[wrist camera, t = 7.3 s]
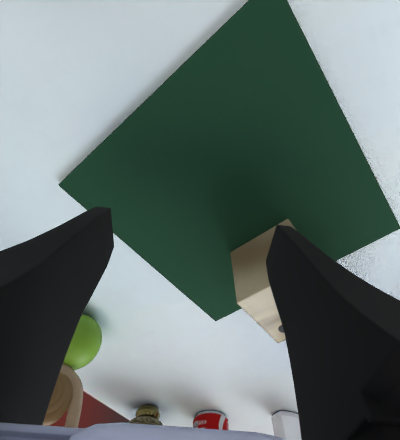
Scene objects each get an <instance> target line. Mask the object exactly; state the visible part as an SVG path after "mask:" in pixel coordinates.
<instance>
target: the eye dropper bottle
mask: <svg viewBox="0 0 400 440" xmlns="http://www.w3.org/2000/svg"><path fill="white" fill-rule="evenodd" d="M272 424H273V430H274V435H275V436H276V437H280V438H282V439H283V440H301V432H300V423H299V415H298V414H296V413H293V412H287V411H279V412H277V413H276V414H274V415H273V416H272Z"/></svg>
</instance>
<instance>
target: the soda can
mask: <svg viewBox="0 0 400 440" xmlns="http://www.w3.org/2000/svg"><path fill="white" fill-rule="evenodd" d="M193 428H203V429H217V430H228V419H227V418H226V417H225V415H224V414H223V413H221V412H218V411H211V410H210V411H203V412H200V413H198V414H197V416H196V417H195V419H194V420H193Z"/></svg>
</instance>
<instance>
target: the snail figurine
mask: <svg viewBox="0 0 400 440" xmlns="http://www.w3.org/2000/svg"><path fill="white" fill-rule="evenodd" d="M101 341H102V333H101V329H100V327H99V325H98V323H97V322H96V321H95V320H94V319H93V318H91V317H89V316H87V315H83V314H82V316H81V318H80V320H79V323H78V325H77V328H76V330H75V333H74V335H73V338H72V340H71V343H70V346H69V348H68V351H67V354H66V356H65V359H64V362H63V364H62V367H61V370H60V373H59V376H58V379H57V382H56V385H55V388H54V390H53V393H52V396H51V399H50V403H49V406H48V409H47V412H46V415H45V418H44V421H43V425H42V426H49V425H51V424H53V423H54V422H56V421H57V420H58V419H59V418H60V417H61V416H62V415H63V414H64V413H65V411H66V410H67V408H68V413H67V419H66V424H65V427H70V428H78V423H79V419H80V414H81V407H82V400H83V387H82V382H81V380H80V378H79V376H78V375H77V374H76V373H75V371H74V370H77V369H80V368H82V367H84V366H85V365H87V364H88V363H89V362H91V361H92V360H93V358H94V357H95V356H96V354H97V353H98V351H99V349H100V346H101Z"/></svg>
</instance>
